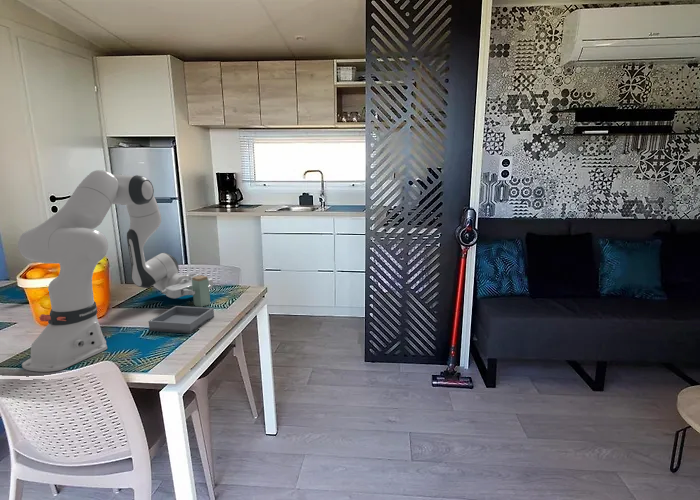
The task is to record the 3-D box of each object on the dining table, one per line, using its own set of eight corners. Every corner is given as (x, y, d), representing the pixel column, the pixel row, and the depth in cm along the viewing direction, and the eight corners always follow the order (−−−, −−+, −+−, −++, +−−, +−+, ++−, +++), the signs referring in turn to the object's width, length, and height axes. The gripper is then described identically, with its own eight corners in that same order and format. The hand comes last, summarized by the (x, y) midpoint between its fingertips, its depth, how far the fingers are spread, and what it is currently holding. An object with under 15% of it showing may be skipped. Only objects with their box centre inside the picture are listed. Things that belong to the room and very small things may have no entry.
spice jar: (201, 307, 165) (198, 279, 162) (194, 305, 167) (191, 277, 165) (210, 304, 168) (208, 276, 166) (203, 302, 171) (200, 275, 168)
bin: (190, 333, 139) (189, 324, 138) (149, 330, 141) (148, 321, 141) (214, 316, 154) (213, 308, 153) (176, 314, 157) (175, 305, 156)
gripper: (158, 284, 164) (179, 289, 157) (199, 273, 181) (220, 277, 174) (159, 299, 165) (181, 304, 158) (201, 286, 182) (221, 291, 175)
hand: (202, 290), depth 166 cm, fingers open, 7 cm apart
